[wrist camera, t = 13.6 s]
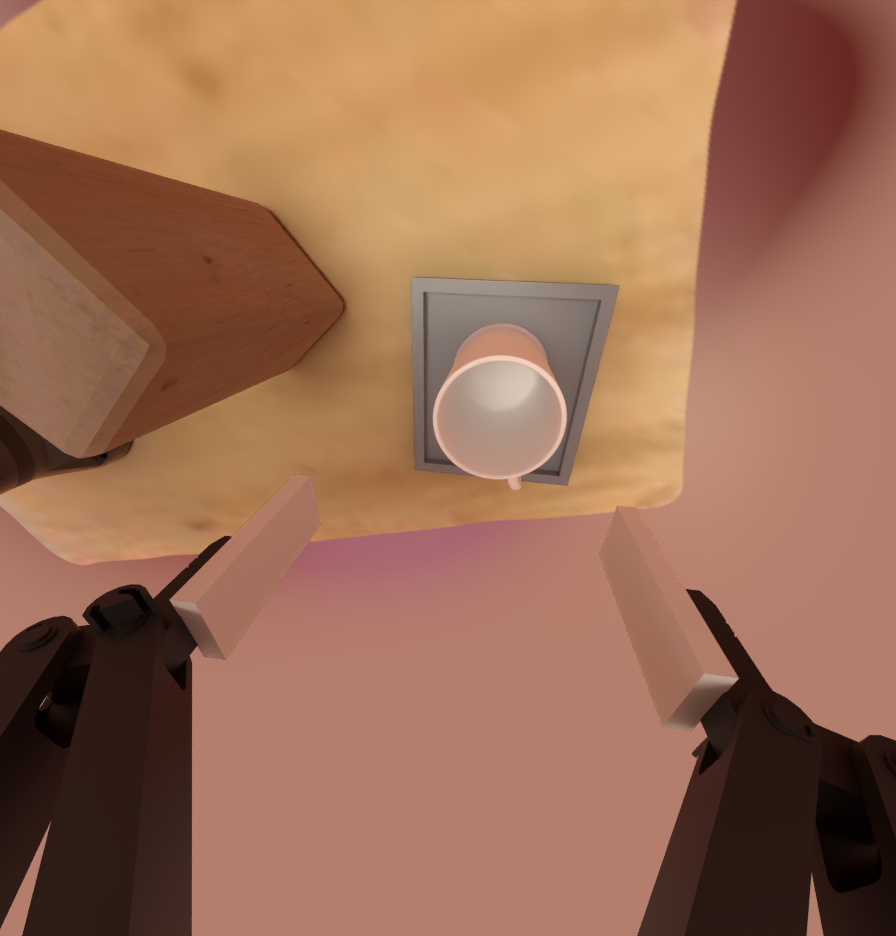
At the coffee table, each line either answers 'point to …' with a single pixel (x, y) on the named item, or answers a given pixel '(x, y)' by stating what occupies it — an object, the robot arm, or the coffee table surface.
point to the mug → (500, 405)
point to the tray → (520, 303)
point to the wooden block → (138, 297)
